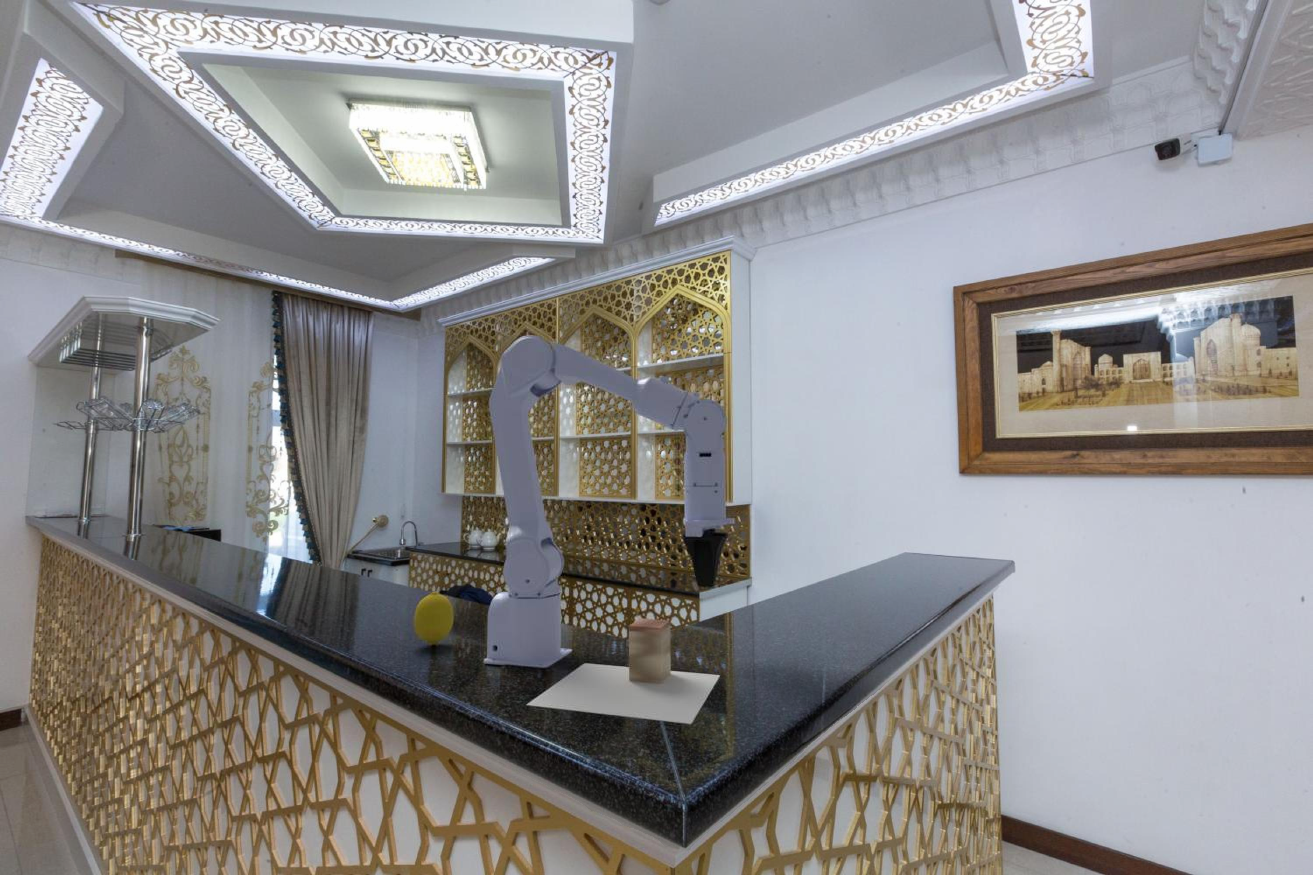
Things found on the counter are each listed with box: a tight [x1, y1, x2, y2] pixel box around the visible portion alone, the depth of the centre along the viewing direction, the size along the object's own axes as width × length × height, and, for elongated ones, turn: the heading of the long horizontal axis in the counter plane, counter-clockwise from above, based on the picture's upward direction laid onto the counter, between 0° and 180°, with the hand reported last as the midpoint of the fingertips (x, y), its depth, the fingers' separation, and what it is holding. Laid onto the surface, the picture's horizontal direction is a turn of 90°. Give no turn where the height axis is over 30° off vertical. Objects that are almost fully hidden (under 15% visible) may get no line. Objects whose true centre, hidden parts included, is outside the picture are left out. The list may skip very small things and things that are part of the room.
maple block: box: [628, 618, 672, 684], centre depth 69 cm, size 4×4×6 cm
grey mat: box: [526, 662, 721, 725], centre depth 65 cm, size 18×15×1 cm
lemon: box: [413, 591, 454, 645], centre depth 86 cm, size 6×6×8 cm
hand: (706, 586), depth 78 cm, fingers closed
